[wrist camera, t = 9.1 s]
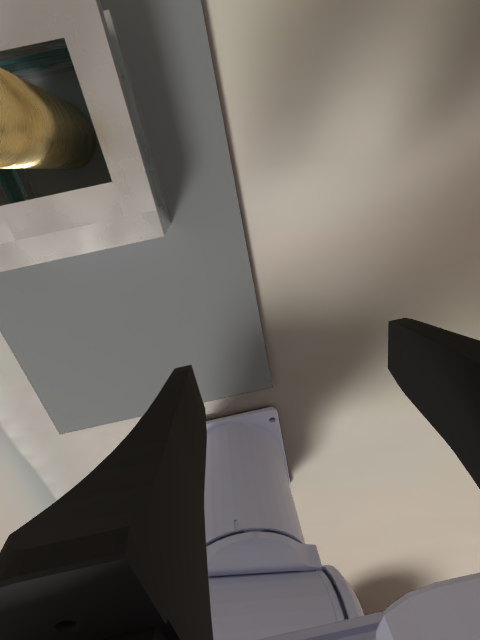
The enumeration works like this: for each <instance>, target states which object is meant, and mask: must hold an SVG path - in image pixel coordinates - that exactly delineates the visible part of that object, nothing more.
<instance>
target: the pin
mask: <svg viewBox="0 0 480 640" xmlns="http://www.w3.org/2000/svg"><path fill="white" fill-rule="evenodd" d="M95 148H96V135H95V131H94V128H93V126H92V124H91V122H90V120H89V119H88V117H87V116H86V115H85V114H84V113H83V112H82V111H81V110H80V109H79V108H77V107H76V106H74V105H72V104H71V103H69V102H67V101H65V100H63V99H61V98H59V97H57V96H55V95H53V94H51V93H49V92H47V91H45V90H43V89H41V88H39V87H37V86H35V85H33V84H31V83H30V82H28V81H26V80H24V79H22V78H20V77H18V76H16V75H14V74H12V73H10V72H8V71H6V70H4V69H2V68H0V168H3V169H75V168H79V167H82V166H84V165H85V164H87V163H88V162H89V161H90V160H91V158H92V157H93V155H94V152H95Z"/></svg>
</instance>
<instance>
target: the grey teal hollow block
mask: <svg viewBox="0 0 480 640" xmlns="http://www.w3.org/2000/svg"><path fill="white" fill-rule="evenodd" d="M0 68H2V69H4V70H6V71H8V72H10V73H12V74H14V75H16V76H18V77H20V78H22V79H24V80H31V79H36V78H40V77H45V76H50V75H55V74H59V73H64V72H69V71H73V70H75V72H76V74H77V77H78V80H79V83H80V86H81V89H82V92H83V95H84V98H85V101H86V104H87V107H88V110H89V113H90V116H91V119H92V122H93V125H94V128H95V131H96V134H97V137H98V140H99V143H100V146H101V149H102V152H103V155H104V158H105V161H106V164H107V167H108V170H109V173H110V176H111V179H112V182H109V183H105V184H100V185H96V186H91V187H86V188H82V189H77V190H72V191H68V192H63V193H58V194H54V195H49V196H44V197H40V198H38V197H37V195H36V192H35V190H34V188H33V186H32V183H31V181H30V179H29V176H28V174H27V172H26V169H3V168H0V272H3V271H7V270H12V269H16V268H21V267H26V266H30V265H35V264H39V263H44V262H49V261H53V260H58V259H62V258H67V257H72V256H76V255H81V254H85V253H90V252H95V251H99V250H104V249H108V248H113V247H118V246H122V245H127V244H131V243H136V242H141V241H145V240H150V239H154V238H159V237H164V236H165V234H166V232H167V231H168V229H169V227H170V225H171V221H170V217H169V214H168V210H167V207H166V203H165V199H164V196H163V192H162V188H161V185H160V181H159V178H158V174H157V170H156V167H155V163H154V160H153V156H152V152H151V149H150V145H149V142H148V138H147V134H146V131H145V127H144V123H143V120H142V116H141V113H140V109H139V105H138V102H137V98H136V95H135V91H134V87H133V84H132V80H131V77H130V73H129V69H128V66H127V62H126V59H125V55H124V51H123V48H122V44H121V40H120V37H119V33H118V30H117V26H116V22H115V19H114V17H113V16H112V14H111V12H110V11H109V10H104V11H103V9H102V6H101V2H100V0H0Z"/></svg>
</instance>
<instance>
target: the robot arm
mask: <svg viewBox="0 0 480 640" xmlns="http://www.w3.org/2000/svg"><path fill="white" fill-rule="evenodd" d="M388 369H389V371H390V372H391V374H392V376H393V377H394V379H395V380H396V382H397V383H398V385H399V386H400V388H401V389H402V391H403V392H404V393H405V395H406V396H407V397H408V398H409V399H410V400H411V402H412V403H413V404H414V405H415V406H416V407H417V409H418V410H419V411H420V412H421V413H422V414H423V416H424V417H425V418H426V419H427V420H428V421H429V422H430V424H431V425H432V426H433V427H434V428H435V429H436V431H437V432H438V433H439V434H440V435H441V436H442V437H443V439H444V440H445V441H446V442H447V444H448V445H449V446H450V447H451V449H452V450H453V451H454V452H455V454H456V455H457V457H458V458H459V460H460V461H461V462H462V464H463V465H464V467H465V468H466V470H467V471H468V472H469V474H470V475H471V477H472V478H473V480H474V481H475V483H476V484H477V486H478V487H479V489H480V341H479V340H476V339H473V338H469V337H466V336H463V335H460V334H457V333H453V332H450V331H447V330H444V329H441V328H438V327H435V326H432V325H429V324H426V323H423V322H420V321H416V320H413V319H408V318H402V319H397V320H393V321H389V325H388ZM272 417H274V418H273V419H270V418H272ZM0 640H480V573H476V574H471V575H467V576H462V577H458V578H454V579H449V580H445V581H440V582H436V583H433V584H430V585H428V586H425V587H422V588H419V589H417V590H414V591H411V592H408V593H406V594H405V595H404V596H402V597H401V598H399V599H398V600H397V601H395V602H394V603H392V604H391V605H390V606H388V607H387V608H386V610H385V611H382V612H377V613H373V614H369V615H364V613H363V610H362V607H361V605H360V603H359V600H358V598H357V596H356V594H355V592H354V591H353V589H352V587H351V586H350V584H349V583H348V582H347V581H346V580H345V579H344V577H343V576H342V575H341V573H340V572H339V571H338V570H337V569H336V568H335V567H333V566H331V565H323V566H322V564H321V561H320V557H319V554H318V551H317V547H316V545H308V544H305V541H304V537H303V534H302V530H301V526H300V523H299V519H298V515H297V511H296V508H295V504H294V500H293V497H292V493H291V483H290V477H289V472H288V466H287V461H286V456H285V450H284V445H283V439H282V434H281V429H280V423H279V418H278V413H277V410H276V408H274V407H268V408H263V409H259V410H254V411H250V412H246V413H241V414H237V415H232V416H228V417H223V418H219V419H214V420H210V421H206V414H205V407H204V404H203V400H202V397H201V394H200V391H199V387H198V384H197V381H196V378H195V375H194V371H193V368H192V365H188V366H183V367H178V368H175V369H174V370H173V372H172V373H171V375H170V376H169V378H168V379H167V381H166V383H165V384H164V386H163V387H162V389H161V390H160V392H159V394H158V395H157V397H156V398H155V400H154V401H153V403H152V404H151V405H150V407H149V408H148V410H147V411H146V412H145V414H144V415H143V416H142V418H141V419H140V420H139V422H138V423H137V424H136V426H135V427H134V428H133V429H132V431H131V432H130V433H129V434H128V435H127V436H126V438H125V439H124V440H123V441H122V442H121V443H120V444H119V445H118V446H117V447H116V448H115V450H114V451H113V452H112V453H111V454H110V455H109V456H107V457H106V458H105V459H104V460H103V461H102V462H101V463H100V464H99V465H98V466H97V467H96V468H95V469H94V470H93V471H92V472H91V473H90V474H89V475H87V476H86V477H85V478H84V479H83V480H82V481H81V482H79V483H78V484H77V485H76V486H75V487H73V488H72V489H71V490H70V491H69V492H67V493H66V494H65V495H64V496H62V497H61V498H60V499H59V500H57V501H56V502H55V503H53V504H52V505H51V506H50V507H48V508H47V509H45V510H44V511H43V512H41V513H40V514H39V515H37V516H36V517H34V518H33V519H32V520H30V521H29V522H27V523H26V524H25V525H23V526H22V527H20V528H19V529H18V530H16V531H15V532H13V533H12V534H10V535H9V537H8V539H7V541H6V542H5V544H4V546H3V548H2V550H1V552H0Z"/></svg>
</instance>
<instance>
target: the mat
mask: <svg viewBox="0 0 480 640" xmlns="http://www.w3.org/2000/svg"><path fill="white" fill-rule="evenodd" d="M100 2H101V6H102V9H103V11H104V10H109V11H110V12H111V14H112V16H113V17H114V19H115V22H116V26H117V30H118V33H119V37H120V40H121V44H122V48H123V51H124V55H125V59H126V62H127V66H128V69H129V73H130V77H131V80H132V84H133V87H134V91H135V95H136V98H137V102H138V105H139V109H140V113H141V116H142V120H143V123H144V127H145V131H146V134H147V138H148V142H149V145H150V149H151V152H152V156H153V160H154V163H155V167H156V170H157V174H158V178H159V181H160V185H161V188H162V192H163V196H164V199H165V203H166V207H167V210H168V214H169V217H170V221H171V225H170V227H169V229H168V231H167V232H166V234H165V236H164V237H159V238H154V239H150V240H145V241H141V242H136V243H131V244H127V245H122V246H118V247H113V248H108V249H104V250H99V251H95V252H90V253H85V254H81V255H76V256H72V257H67V258H62V259H58V260H53V261H49V262H44V263H39V264H35V265H30V266H26V267H21V268H16V269H12V270H7V271H3V272H0V331H1V333H2V335H3V337H4V338H5V340H6V342H7V343H8V345H9V347H10V349H11V350H12V352H13V354H14V356H15V357H16V359H17V361H18V363H19V364H20V366H21V368H22V370H23V371H24V373H25V375H26V376H27V378H28V380H29V382H30V383H31V385H32V387H33V389H34V390H35V392H36V394H37V396H38V397H39V399H40V401H41V403H42V404H43V406H44V408H45V410H46V411H47V413H48V415H49V416H50V418H51V420H52V422H53V423H54V425H55V427H56V429H57V430H58V432H59V434H64V433H69V432H73V431H77V430H82V429H86V428H91V427H95V426H100V425H104V424H109V423H113V422H118V421H122V420H127V419H131V418H136V417H140V416H143V415H144V414H145V412H146V411H147V410H148V408H149V407H150V405H151V404H152V403H153V401H154V400H155V398H156V397H157V395H158V394H159V392H160V390H161V389H162V387H163V386H164V384H165V383H166V381H167V379H168V378H169V376H170V375H171V373H172V372H173V370H174V369H175V368H178V367H183V366H188V365H192V368H193V371H194V375H195V378H196V381H197V384H198V387H199V391H200V394H201V397H202V400H203V402H208V401H212V400H217V399H221V398H226V397H230V396H234V395H239V394H243V393H248V392H252V391H257V390H261V389H266V388H270V387H273V386H272V381H271V375H270V370H269V364H268V359H267V354H266V348H265V343H264V337H263V332H262V327H261V321H260V316H259V311H258V305H257V300H256V294H255V289H254V284H253V278H252V273H251V267H250V262H249V257H248V251H247V246H246V241H245V235H244V230H243V224H242V219H241V214H240V208H239V203H238V198H237V192H236V187H235V181H234V176H233V171H232V165H231V160H230V154H229V149H228V144H227V138H226V133H225V128H224V122H223V117H222V111H221V106H220V101H219V95H218V90H217V85H216V79H215V74H214V68H213V63H212V58H211V52H210V47H209V41H208V36H207V31H206V25H205V20H204V15H203V9H202V4H201V0H100ZM26 81H28V82H30V83H31V84H33V85H35V86H37V87H39V88H41V89H43V90H45V91H47V92H49V93H51V94H53V95H55V96H57V97H59V98H61V99H63V100H65V101H67V102H69V103H71V104H72V105H74V106H76V107H77V108H79V109H80V110H81V111H82V112H83V113H84V114H85V115H86V116H87V117H88V119H89V120H90V122H91V124H92V126H93V128H94V125H93V122H92V119H91V116H90V113H89V110H88V107H87V104H86V101H85V98H84V95H83V92H82V89H81V86H80V83H79V80H78V77H77V74H76V72H75V70H73V71H69V72H64V73H59V74H55V75H50V76H45V77H40V78H36V79H31V80H26ZM94 131H95V128H94ZM95 135H96V148H95V152H94V155H93V157H92V158H91V160H90V161H89V162H88V163H87V164H85V165H84V166H82V167H79V168H75V169H26V172H27V174H28V176H29V179H30V181H31V183H32V186H33V188H34V190H35V192H36V195H37V197H38V198H40V197H44V196H49V195H54V194H58V193H63V192H68V191H72V190H77V189H82V188H86V187H91V186H96V185H100V184H105V183H109V182H112V179H111V176H110V173H109V170H108V167H107V164H106V161H105V158H104V155H103V152H102V149H101V146H100V143H99V140H98V137H97V134H96V131H95Z"/></svg>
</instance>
